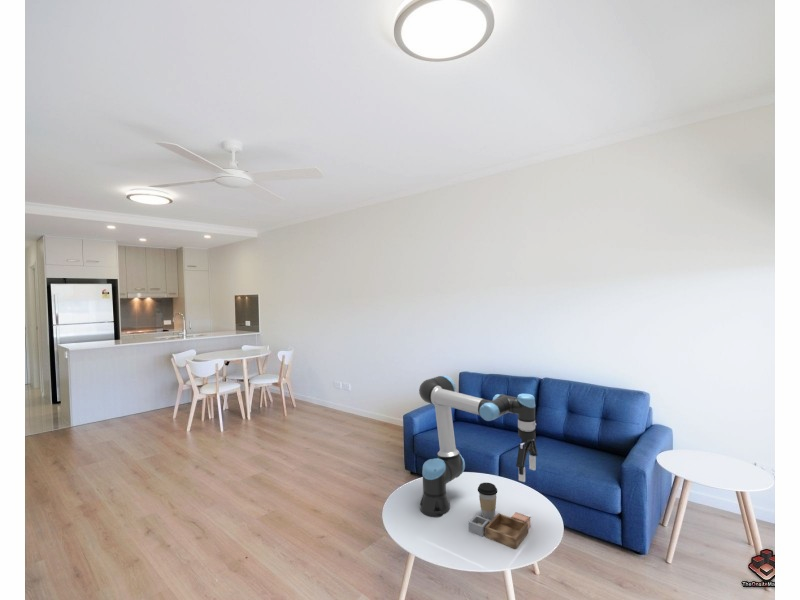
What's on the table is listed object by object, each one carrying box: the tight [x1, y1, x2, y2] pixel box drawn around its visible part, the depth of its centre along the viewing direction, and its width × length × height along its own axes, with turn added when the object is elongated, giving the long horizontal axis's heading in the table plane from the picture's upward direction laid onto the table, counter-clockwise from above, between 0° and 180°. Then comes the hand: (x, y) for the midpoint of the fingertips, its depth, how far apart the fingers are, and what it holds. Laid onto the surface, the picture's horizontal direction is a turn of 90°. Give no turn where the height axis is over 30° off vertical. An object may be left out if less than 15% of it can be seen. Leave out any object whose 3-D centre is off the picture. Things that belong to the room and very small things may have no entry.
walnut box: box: [484, 513, 529, 550], centre depth 172 cm, size 14×14×5 cm
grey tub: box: [468, 514, 491, 537], centre depth 176 cm, size 7×7×5 cm
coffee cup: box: [477, 482, 498, 520], centre depth 187 cm, size 9×9×15 cm
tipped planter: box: [510, 511, 531, 530], centre depth 178 cm, size 7×5×5 cm
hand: (527, 475), depth 175 cm, fingers open, 13 cm apart
